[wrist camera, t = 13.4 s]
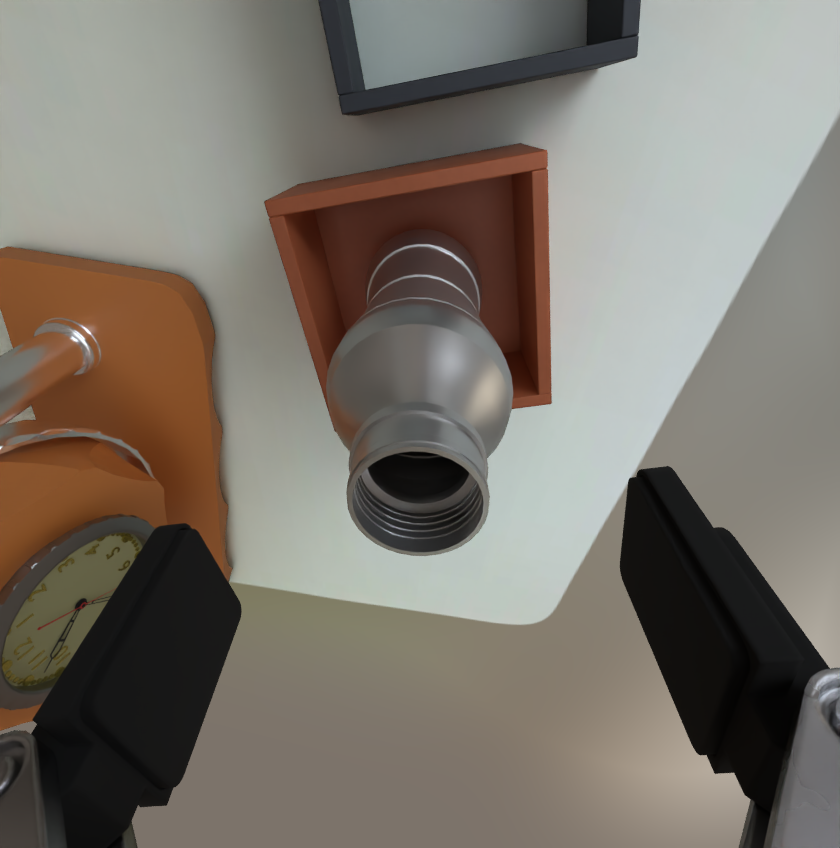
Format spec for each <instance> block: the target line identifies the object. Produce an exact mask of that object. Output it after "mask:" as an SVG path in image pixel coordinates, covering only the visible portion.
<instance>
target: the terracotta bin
mask: <svg viewBox="0 0 840 848" xmlns="http://www.w3.org/2000/svg"><path fill="white" fill-rule="evenodd" d="M547 166H548V159H547V150H544V149H540V148H536V147H532V146H528V145H525V144H522V143H519V144H513V145H508V146H502V147H497V148H492V149H486V150H481V151H475V152H470V153H464V154H459V155H453V156H448V157H443V158H437V159H432V160H426V161H421V162H415V163H410V164H405V165H399V166H394V167H388V168H383V169H377V170H372V171H367V172H361V173H356V174H350V175H345V176H339V177H334V178H328V179H323V180H318V181H312V182H307V183H301V184H297V185H296V186H294V187H292V188H290V189H288V190H286V191H284V192H282V193H280V194H278V195H276V196H274V197H272V198H270V199H268V200H266V201H265V202H264V203H265V207H266V210H267V213H268V216H269V217H270V218H269V220H270V224H271V227H272V230H273V233H274V237H275V240H276V243H277V246H278V249H279V253H280V256H281V259H282V262H283V266H284V269H285V272H286V275H287V279H288V282H289V285H290V288H291V291H292V295H293V298H294V301H295V304H296V308H297V311H298V314H299V317H300V321H301V324H302V327H303V330H304V333H305V337H306V340H307V343H308V346H309V350H310V353H311V356H312V359H313V362H314V366H315V369H316V372H317V375H318V379H319V382H320V385H321V388H322V392H323V395H324V398H325V401H326V404H327V408H328V411H329V405H328V398H327V391H326V383H327V372H328V368H329V365H330V362H331V359H332V356H333V354H334V352H335V351H336V349H337V347H338V346H339V344H340V342H341V341H342V339H343V337H344V336H345V334H346V332H347V331H348V330H349V329H350V328H351V327H352V326H353V325H354V324H355V323H356V322H357V320H358V319H359V318H360V317H361V316H362V315H363V314H364V313H365V311H366V309H367V304H366V290H365V284H366V276H367V271H368V268H369V265H370V263H371V261H372V259H373V257H374V256H375V254H376V252H377V251H378V250H379V249H380V248H381V247H382V246H383V244H384V243H386V242H387V241H388V240H390V239H391V238H393V237H394V236H396V235H398V234H401V233H403V232H406V231H410V230H416V229H430V230H434V231H438V232H442V233H444V234H446V235H448V236H450V237H452V238H454V239H455V240H456V241H458V242H459V243H460V244H461V245H463V246H464V247H465V249H466V250H467V251H468V252H469V253H470V254H471V256H472V258H473V259H474V261H475V263H476V265H477V267H478V270H479V273H480V276H481V282H482V302H481V309H480V313H479V317H480V320H481V321H482V323H483V324H484V325H485V327H486V328H487V329H488V331H489V332H490V334H491V335H492V336H493V338H494V339H495V341H496V343H497V344H498V346H499V347H500V349H501V351H502V353H503V355H504V357H505V359H506V362H507V365H508V368H509V371H510V373H511V376H512V385H513V401H512V409H516V408H523V407H531V406H539V405H546V404H551V403H552V402H551V340H550V277H549V215H548V169H546V168H547ZM329 414H330V411H329ZM330 417H331V416H330ZM331 421H332V419H331ZM332 424H333V422H332ZM333 427H334V425H333ZM334 430H335V428H334ZM335 432H336V430H335Z"/></svg>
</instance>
